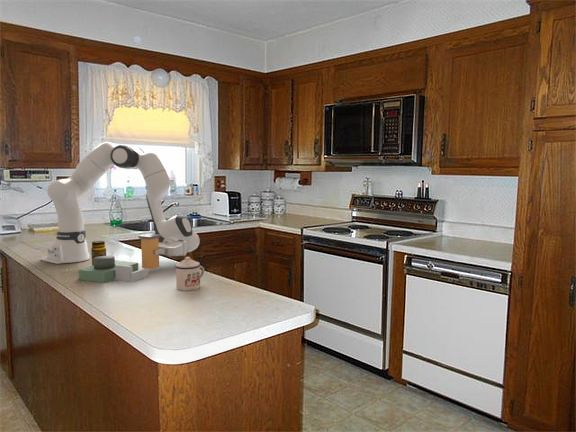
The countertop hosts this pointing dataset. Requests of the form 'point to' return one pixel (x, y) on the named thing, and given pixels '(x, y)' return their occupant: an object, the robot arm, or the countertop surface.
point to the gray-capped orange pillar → (149, 250)
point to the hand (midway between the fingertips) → (148, 251)
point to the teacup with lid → (188, 274)
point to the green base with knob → (112, 270)
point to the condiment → (98, 249)
